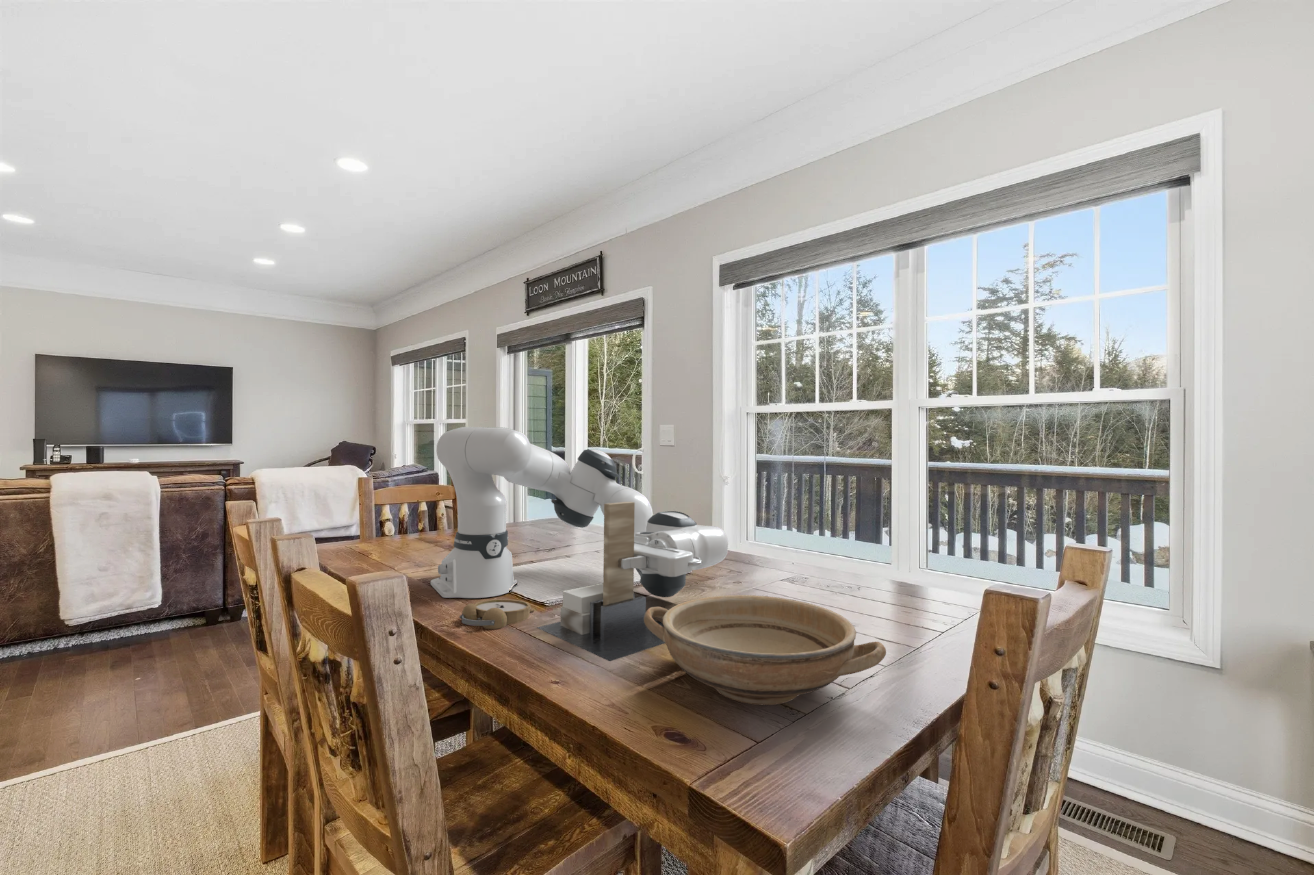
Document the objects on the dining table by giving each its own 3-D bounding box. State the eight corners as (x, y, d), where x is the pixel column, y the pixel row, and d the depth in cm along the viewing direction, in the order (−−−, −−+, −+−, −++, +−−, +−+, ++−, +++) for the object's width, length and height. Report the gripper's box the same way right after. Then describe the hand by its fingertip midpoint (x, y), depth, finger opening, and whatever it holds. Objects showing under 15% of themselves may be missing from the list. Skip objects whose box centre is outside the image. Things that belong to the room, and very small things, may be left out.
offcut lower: (560, 625, 113) (560, 607, 113) (609, 613, 121) (609, 596, 121) (582, 634, 108) (582, 615, 108) (631, 621, 116) (632, 603, 116)
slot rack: (536, 632, 112) (537, 595, 112) (618, 611, 125) (618, 578, 125) (609, 667, 96) (610, 624, 96) (694, 638, 109) (694, 601, 109)
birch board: (602, 634, 108) (604, 503, 108) (627, 627, 112) (629, 501, 112) (608, 636, 107) (609, 504, 107) (633, 629, 111) (634, 502, 111)
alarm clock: (542, 604, 121) (493, 610, 108) (539, 629, 120) (489, 638, 107) (500, 596, 126) (447, 601, 113) (497, 620, 125) (443, 628, 112)
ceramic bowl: (600, 697, 85) (601, 627, 85) (681, 637, 111) (682, 583, 110) (872, 764, 68) (873, 678, 68) (894, 675, 94) (895, 612, 94)
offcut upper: (562, 606, 113) (563, 591, 113) (603, 597, 120) (604, 582, 120) (581, 614, 109) (581, 597, 109) (622, 603, 116) (623, 588, 116)
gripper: (706, 578, 111) (653, 591, 102) (635, 560, 126) (582, 570, 116) (707, 544, 111) (653, 554, 102) (635, 530, 126) (582, 538, 116)
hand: (615, 562), depth 109 cm, fingers closed on birch board, 2 cm apart
